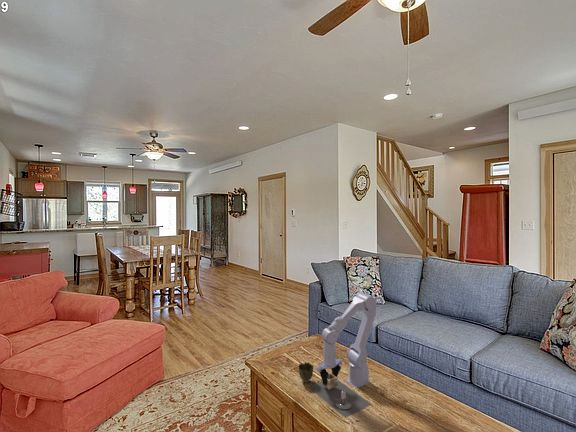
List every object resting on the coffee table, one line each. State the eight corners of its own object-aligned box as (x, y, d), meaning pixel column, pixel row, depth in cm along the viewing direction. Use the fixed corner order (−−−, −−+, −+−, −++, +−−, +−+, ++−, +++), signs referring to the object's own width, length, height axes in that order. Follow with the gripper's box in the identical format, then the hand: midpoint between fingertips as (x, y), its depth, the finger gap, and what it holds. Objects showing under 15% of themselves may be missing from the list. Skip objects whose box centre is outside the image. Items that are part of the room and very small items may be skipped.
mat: (333, 377, 154) (333, 376, 154) (372, 405, 132) (372, 404, 132) (308, 387, 146) (308, 386, 146) (345, 418, 124) (345, 417, 124)
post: (343, 398, 137) (343, 385, 137) (354, 406, 131) (354, 393, 131) (332, 403, 133) (332, 390, 133) (342, 412, 127) (342, 398, 127)
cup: (301, 387, 146) (301, 370, 146) (296, 378, 153) (296, 363, 153) (315, 384, 148) (315, 368, 148) (310, 376, 155) (310, 361, 155)
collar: (330, 380, 148) (330, 372, 148) (337, 385, 144) (337, 377, 144) (321, 383, 145) (321, 375, 145) (328, 389, 141) (328, 381, 141)
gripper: (335, 347, 152) (335, 374, 152) (312, 354, 144) (312, 382, 144) (345, 352, 146) (345, 380, 146) (321, 361, 138) (321, 390, 138)
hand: (329, 382), depth 145 cm, fingers closed on collar, 5 cm apart
